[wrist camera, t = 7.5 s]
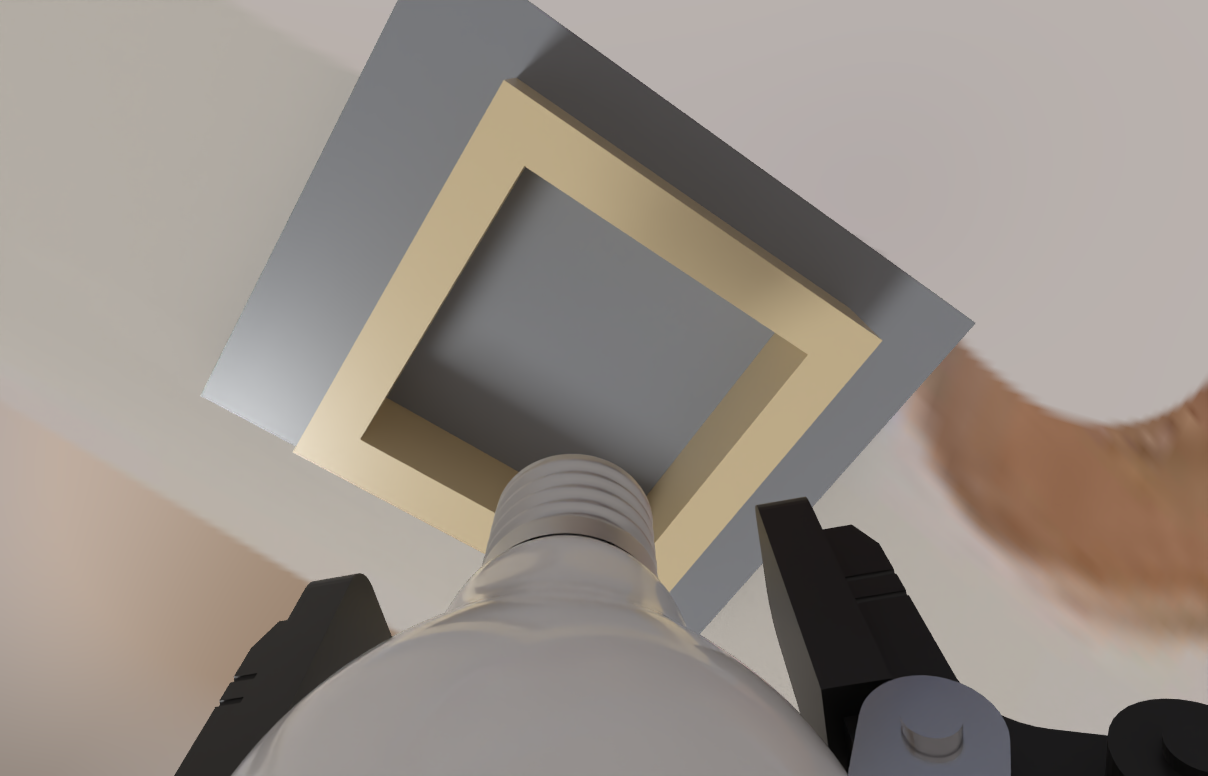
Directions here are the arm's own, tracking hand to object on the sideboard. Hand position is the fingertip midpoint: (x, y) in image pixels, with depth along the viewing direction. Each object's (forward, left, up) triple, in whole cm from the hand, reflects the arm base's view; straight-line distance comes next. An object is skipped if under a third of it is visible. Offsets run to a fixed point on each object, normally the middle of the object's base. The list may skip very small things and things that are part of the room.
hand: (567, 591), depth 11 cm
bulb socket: (0, 0, -11) cm, 11 cm away
